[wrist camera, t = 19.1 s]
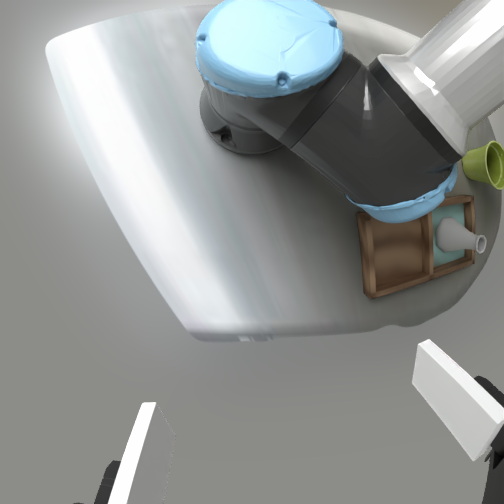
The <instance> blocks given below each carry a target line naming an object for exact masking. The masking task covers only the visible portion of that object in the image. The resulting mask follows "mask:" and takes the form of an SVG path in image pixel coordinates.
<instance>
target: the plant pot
mask: <svg viewBox="0 0 504 504" xmlns="http://www.w3.org/2000/svg"><path fill="white" fill-rule="evenodd" d="M462 162H463V170H464V173H465V175H466V176H467V177H468V178H469V179H472V180H476V181H480V182H484V183H488V184H490V185H492V186H494V187H495V188H496V189H498V190H501V189H503V188H504V149H503V147H502V146H501V145H500V144H499V143H498V142H497V141H491V142H489V143H488V144H487V145H485V146H483V147H480V148H476V149H472V150H469V151H467V154H466V156H464V157H463V158H462Z"/></svg>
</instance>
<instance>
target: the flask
mask: <svg viewBox="0 0 504 504" xmlns="http://www.w3.org/2000/svg"><path fill="white" fill-rule="evenodd" d="M486 240H487V239H486V238H485V236H484V235H475V234H474V233H472V232H470V231H469V230H467V229H466V228H465V227H464V226H462V225H461V224H460V223H459V222H458V221H456V220H455V219H454V218H453V217H452V216H451V217H442V219H441V221H440V223H439V225H438V227H437V230H436V246H437V247H438V248H439V249H440V250H441V251H442V252H443V253H444V252H450V251H455V250H462V249H472V250H476V251H477V252H478V253H479V254H480V253H483V252H484V250H485V248H486Z"/></svg>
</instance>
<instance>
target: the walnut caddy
mask: <svg viewBox="0 0 504 504" xmlns="http://www.w3.org/2000/svg"><path fill="white" fill-rule="evenodd" d="M451 216H452V217H453V218H454V219H455V220H456V221H458V222H459V223H460V224H461V225H462V226H464V227H465V228H466V229H467V230H469V231H470V232H472V233H474V234H475V212H474V196H470V195H460V196H453V197H447V198H445V199H444V201H443V202H442V203H441V204H440V205H439V206H437V207H436V208H435V209H434V210H432V211H431V212H429V213H427V214H426V215H424V216H422V217H420V218H417V219H415V220H412V221H409V222H404V223H386V222H382V221H380V220H377V219H375V218H373V217H372V216H371V215H369V214H368V213H367V212H366V211H365V212H360V213H357V221H358V230H359V239H360V249H361V260H362V274H363V290H364V294H366V295H367V296H368V297H369V298H370V299H373V298H376V297H380V296H383V295H386V294H390V293H393V292H396V291H399V290H402V289H405V288H408V287H411V286H414V285H417V284H420V283H423V282H426V281H429V280H432V279H435V278H437V277H440V276H443V275H446V274H448V273H451V272H454V271H456V270H459V269H461V268H464V267H467V266H469V265H472V264H474V259H475V250H472V249H462V250H455V251H450V252H444V253H443V252H442V251H441V250H440V249H439V248H438V247H437V246H436V230H437V227H438V225H439V223H440V221H441V219H442V217H451Z"/></svg>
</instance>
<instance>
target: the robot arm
mask: <svg viewBox="0 0 504 504" xmlns="http://www.w3.org/2000/svg"><path fill="white" fill-rule="evenodd" d="M336 25H337V21H336V20H335V19H334V18H333V16H332V15H331V14H330V13H329V12H328V11H327V10H325V9H324V8H323V7H322V6H320V5H319V4H317V3H316V2H314V1H312V0H225V1H224V2H222V3H220V4H219V5H217V6H216V7H215V8H214V9H212V10H211V11H210V12H209V13H208V14H207V15H206V17H205V18H204V19H203V21H202V22H201V24H200V26H199V28H198V31H197V35H196V42H195V46H196V65H197V69H198V70H199V72H200V73H201V76H202V79H203V82H204V85H205V87H204V89H203V91H202V94H201V98H200V114H201V118H202V121H203V123H204V126H205V128H206V130H207V131H208V133H209V134H210V136H211V137H212V138H213V139H214V140H215V141H216V142H217V143H219V144H220V145H221V146H223V147H225V148H227V149H229V150H231V151H234V152H237V153H241V154H249V155H255V154H263V153H267V152H270V151H273V150H275V149H277V148H279V147H280V146H282V145H283V144H284V145H285V146H286V147H288V148H289V149H290V150H291V151H293V152H294V153H295V154H296V155H298V156H299V157H300V158H302V159H303V160H304V161H306V162H307V163H308V164H309V165H311V166H312V167H313V168H315V169H316V170H317V171H318V172H320V173H321V174H322V175H323V176H325V177H326V178H327V179H328V180H329V181H331V182H332V183H333V184H334V185H335V186H337V187H338V188H339V189H340V190H341V191H343V192H344V194H345V196H346V197H347V199H348V200H349V201H351V202H352V203H353V204H356V205H357V206H359V207H361V208H362V209H363V210H365V211H366V212H367V213H368V214H369V215H371V216H372V217H373V218H375V219H377V220H380V221H382V222H386V223H404V222H409V221H412V220H415V219H417V218H420V217H422V216H424V215H426V214H427V213H429V212H431V211H432V210H434V209H435V208H436V207H437V206H439V205H440V204H441V203H442V202H443V201H444V199H445V196H444V194H445V193H447V192H451V190H452V189H453V187H454V185H455V182H456V179H457V172H458V171H457V164H456V162H457V161H459V160H460V159H462V158H463V157H464V156H466V154H467V146H468V136H469V133H470V130H471V129H472V128H474V127H475V126H476V125H478V124H479V123H480V122H482V121H483V120H484V119H485V118H487V117H488V116H489V115H491V114H492V113H493V112H494V111H496V110H497V109H498V108H500V107H501V106H502V105H503V104H504V0H464V1H463V2H461V3H460V4H459V5H458V6H457V7H456V8H455V9H454V10H452V11H451V12H450V13H449V14H448V15H447V16H446V17H445V18H444V19H442V20H441V21H440V22H439V23H438V24H437V25H436V26H435V27H434V28H433V29H432V30H431V31H429V32H428V33H427V34H426V35H425V36H424V37H423V38H422V39H421V40H420V41H419V42H418V43H417V44H416V45H415V46H413V47H412V48H411V49H410V50H409V51H408V52H407V53H406V54H403V55H390V54H380V55H379V56H378V57H377V58H376V59H375V60H374V61H373V62H372V63H371V64H370V65H369V66H366V65H364V64H363V63H362V62H361V61H359V60H358V59H357V58H356V57H354V56H353V55H352V54H350V53H349V52H348V51H347V50H345V49H344V46H343V34H342V32H341V30H340V29H337V26H336ZM412 384H413V385H414V386H415V388H416V389H417V390H418V391H419V393H420V394H421V395H422V396H423V397H424V399H425V400H426V401H427V402H428V404H429V405H430V406H431V407H432V409H433V410H434V411H435V412H436V414H437V415H438V416H439V417H440V419H441V420H442V421H443V423H444V424H445V425H446V426H447V428H448V429H449V430H450V432H451V433H452V434H453V435H454V437H455V438H456V439H457V441H458V442H459V443H460V445H461V446H462V447H463V448H464V450H465V451H466V453H467V454H468V455H469V457H470V458H471V459H472V461H475V460H476V459H477V458H478V457H480V456H481V455H483V454H484V453H485V452H486V450H487V449H488V447H489V446H490V445H491V447H492V450H491V451H490V453H489V454H488V455H487V457H486V459H485V462H486V461H487V460H488V459H489V457H490V460H489V461H490V464H489V471H488V477H487V483H486V488H485V492H484V497H483V501H482V504H504V394H503V393H502V392H501V391H498V389H497V388H496V387H495V386H493V384H492V383H491V382H490V381H488V380H487V379H486V378H483V377H481V376H477V377H475V378H474V379H473V378H472V377H471V376H470V375H469V374H468V373H467V372H465V371H464V370H463V369H462V368H461V367H460V366H458V364H457V363H455V361H453V360H452V359H451V358H450V357H449V356H447V354H445V353H444V352H443V351H442V350H441V349H440V348H439V347H438V346H437V345H435V344H434V343H433V342H432V341H431V340H430V339H428V340H426V341H424V342H421V343H419V344H418V347H417V354H416V361H415V367H414V373H413V378H412ZM175 438H176V435H175V434H174V432H173V431H172V429H171V427H170V426H169V424H168V422H167V421H166V419H165V417H164V415H163V414H162V412H161V410H160V408H159V406H158V405H157V403H156V402H152V403H142V406H141V408H140V411H139V414H138V416H137V419H136V422H135V424H134V427H133V430H132V433H131V436H130V438H129V441H128V444H127V447H126V450H125V453H124V456H123V458H122V461H112V462H111V464H110V465H109V466H108V467H107V468H106V471H105V474H104V478H103V479H102V482H101V485H100V488H99V490H98V493H97V496H96V499H95V502H94V504H164V499H165V492H166V487H167V481H168V475H169V470H170V465H171V459H172V454H173V448H174V443H175ZM74 504H82V503H74Z"/></svg>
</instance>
